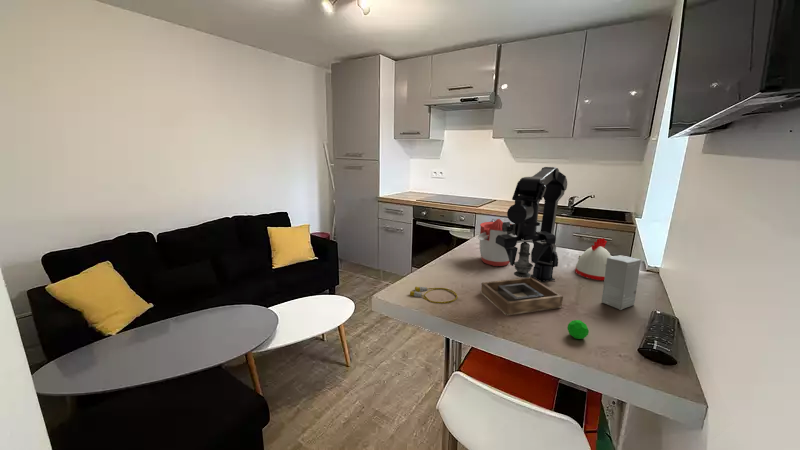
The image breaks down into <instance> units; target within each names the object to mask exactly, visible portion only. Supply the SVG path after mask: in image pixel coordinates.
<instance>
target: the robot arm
mask: <svg viewBox="0 0 800 450" xmlns="http://www.w3.org/2000/svg"><path fill="white" fill-rule="evenodd" d="M567 188H568V179H567V177H566V175H565V174H564V173H562V172H561V171H560V170H559V168H558V167H556V166H544V167H541V170H539V171H538V172H536V173H535V174H534V175H532V176H524V177H521V178H520V180H518V181H517V184H516V187H515V190H514V193H513V196H512V198H511V200H512V201H514V204H512V205H511V206H509V208H508V209H507V211H506V215H507V218H508V220H509V221H506V222H505V221H503V222H504V223H503V224H502V231H503V232H507V234H503V235H498V236H497V237H496V243H497V244H499V245H500V246H502V247H504V248H505V250H506V252H507V255H508V258H509V261H510V262H509V265H510V266H512V267H514V266H515V265H514V263H515V262H516V258H517V253H518V247H516V246H517V244H518V243H519V244H521V243H523V242H527V243H530V242H531V243H532V244H533V247H532V249H531V252H530V260H531V262H530V263H531V264H534V265H533V267H532V274H531V276H530V277H532V278H533V279H535V280H537V281H538V282H540V283H544V282H551V281H553V282H554V281H555V280H556V278H553V275H554V274H553V272H554V268H556V267H558V266H559V257H558V252H557V246H556V241H557V237H556V235H555V233H554V231H555V225H556V219H557V210H558V207H559V206H558V204H559V201H560V200H561V199H562V198H563V197H564V195H565V193H566V192H565V191H566V190H567ZM543 200H544V202H543V203H544V205H543V210H542V211H543V213H542V218H541V222H539V221H538V220H539V219H538V217H539V207H540V203H541V202H540V201H543ZM539 226H540V231H537V228H538V227H539ZM508 234H512V235H516V237H512V236H510V235H508Z"/></svg>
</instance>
